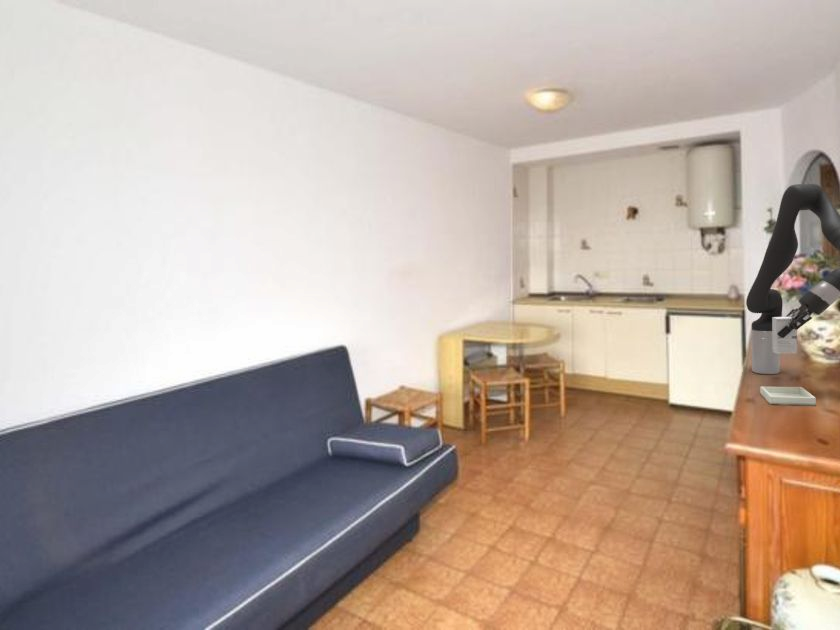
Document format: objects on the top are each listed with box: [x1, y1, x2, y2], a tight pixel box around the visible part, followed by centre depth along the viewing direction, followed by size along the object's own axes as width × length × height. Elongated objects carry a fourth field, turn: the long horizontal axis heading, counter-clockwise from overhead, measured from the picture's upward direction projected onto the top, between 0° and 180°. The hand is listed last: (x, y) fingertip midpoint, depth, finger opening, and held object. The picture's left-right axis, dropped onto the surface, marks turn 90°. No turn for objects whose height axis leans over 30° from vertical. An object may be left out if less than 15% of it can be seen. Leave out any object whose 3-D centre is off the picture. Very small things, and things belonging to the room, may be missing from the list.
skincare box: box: [772, 316, 798, 355], centre depth 175 cm, size 6×4×12 cm
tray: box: [759, 385, 817, 407], centre depth 171 cm, size 14×12×2 cm
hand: (777, 335), depth 176 cm, fingers closed on skincare box, 4 cm apart
